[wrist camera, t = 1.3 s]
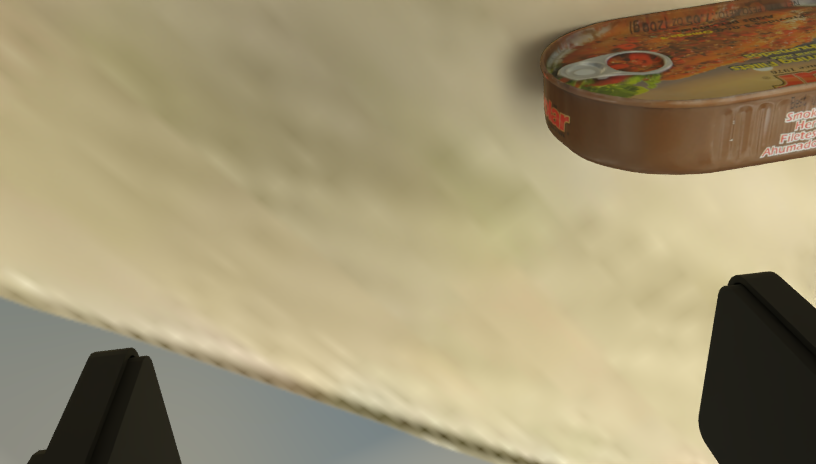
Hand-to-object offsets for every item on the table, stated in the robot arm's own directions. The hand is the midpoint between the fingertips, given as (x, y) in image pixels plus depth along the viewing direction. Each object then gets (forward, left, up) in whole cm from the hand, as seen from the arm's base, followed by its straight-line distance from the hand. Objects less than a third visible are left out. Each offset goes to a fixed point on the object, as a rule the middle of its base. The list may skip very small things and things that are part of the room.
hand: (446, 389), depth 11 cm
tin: (0, +13, -18) cm, 23 cm away
